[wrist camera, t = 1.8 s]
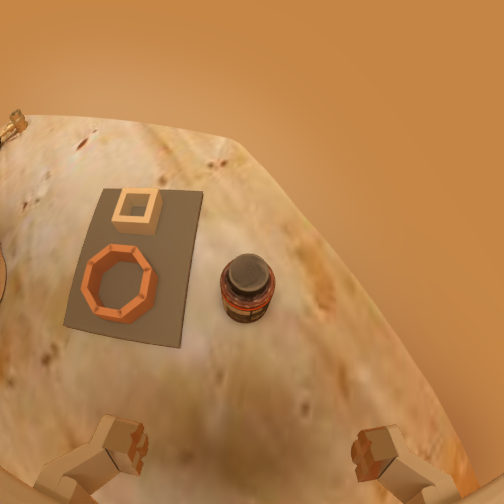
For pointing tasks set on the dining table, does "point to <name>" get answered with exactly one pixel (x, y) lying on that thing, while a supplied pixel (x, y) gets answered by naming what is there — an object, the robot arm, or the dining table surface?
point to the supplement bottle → (247, 288)
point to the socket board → (136, 266)
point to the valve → (15, 123)
